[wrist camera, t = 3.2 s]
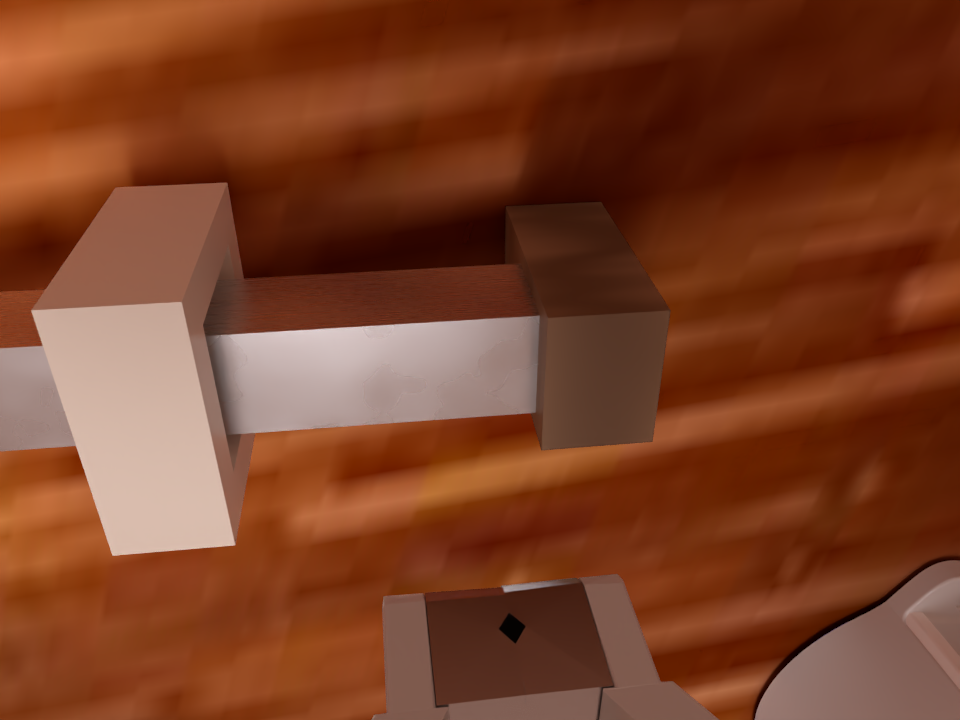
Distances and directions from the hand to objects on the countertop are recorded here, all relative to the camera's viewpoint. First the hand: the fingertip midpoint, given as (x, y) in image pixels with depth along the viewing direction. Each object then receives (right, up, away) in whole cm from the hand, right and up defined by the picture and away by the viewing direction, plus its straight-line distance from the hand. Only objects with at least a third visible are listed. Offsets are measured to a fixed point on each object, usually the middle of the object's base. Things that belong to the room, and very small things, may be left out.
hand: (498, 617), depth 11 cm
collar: (-9, +6, +15) cm, 18 cm away
